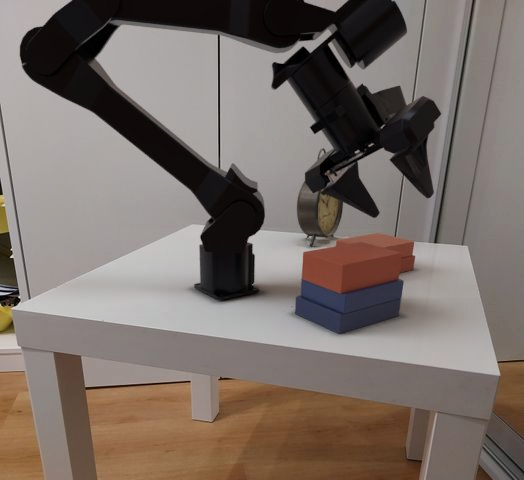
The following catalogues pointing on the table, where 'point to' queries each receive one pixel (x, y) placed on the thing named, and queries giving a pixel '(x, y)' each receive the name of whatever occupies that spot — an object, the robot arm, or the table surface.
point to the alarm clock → (318, 212)
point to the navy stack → (349, 305)
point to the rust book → (351, 266)
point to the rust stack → (387, 246)
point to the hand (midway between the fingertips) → (402, 206)
